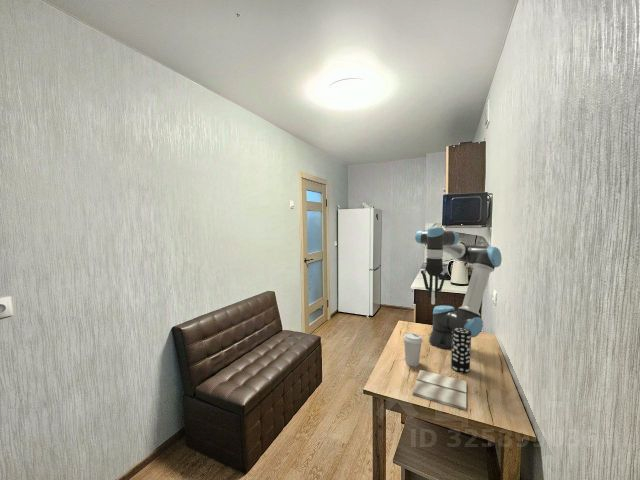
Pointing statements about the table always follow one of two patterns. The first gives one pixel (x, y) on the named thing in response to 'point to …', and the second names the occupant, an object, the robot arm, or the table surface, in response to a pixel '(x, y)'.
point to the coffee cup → (412, 348)
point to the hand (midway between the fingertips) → (433, 303)
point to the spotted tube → (461, 350)
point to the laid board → (440, 395)
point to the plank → (442, 381)
